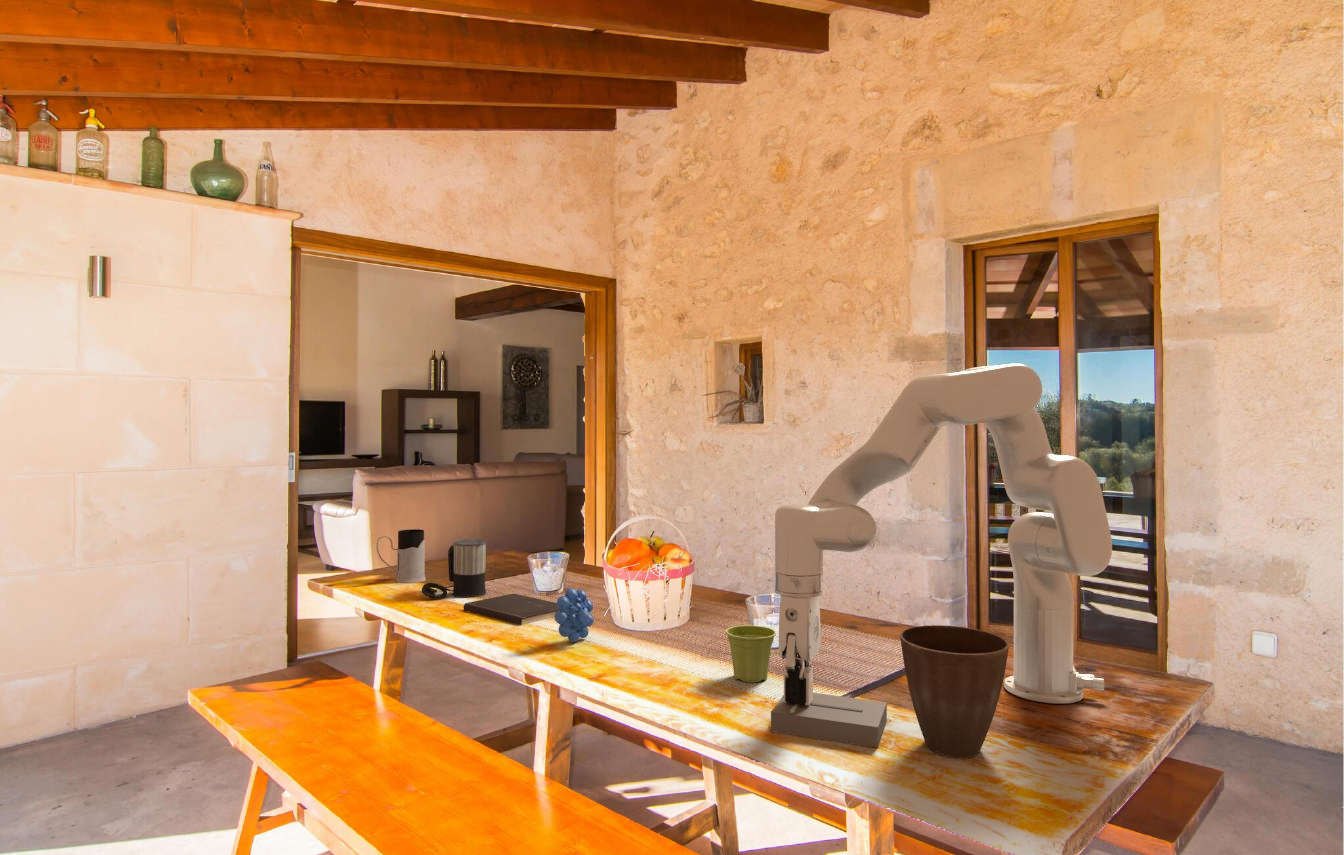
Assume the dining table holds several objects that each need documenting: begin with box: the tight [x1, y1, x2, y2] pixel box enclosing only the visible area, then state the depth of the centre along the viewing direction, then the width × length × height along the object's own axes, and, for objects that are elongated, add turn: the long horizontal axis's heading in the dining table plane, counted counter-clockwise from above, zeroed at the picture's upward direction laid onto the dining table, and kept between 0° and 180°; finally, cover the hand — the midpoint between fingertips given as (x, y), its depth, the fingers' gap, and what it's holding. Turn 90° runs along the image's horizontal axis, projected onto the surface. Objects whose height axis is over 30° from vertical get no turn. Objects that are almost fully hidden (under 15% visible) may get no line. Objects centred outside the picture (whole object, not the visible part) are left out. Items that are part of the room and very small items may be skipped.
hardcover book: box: [463, 593, 561, 626], centre depth 195 cm, size 16×23×2 cm
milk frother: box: [421, 538, 488, 600], centre depth 213 cm, size 14×16×15 cm
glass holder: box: [376, 528, 427, 584], centre depth 233 cm, size 9×14×15 cm, turn 108°
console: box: [770, 692, 888, 749], centre depth 120 cm, size 16×11×3 cm
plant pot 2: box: [899, 624, 1010, 759], centre depth 113 cm, size 15×15×16 cm
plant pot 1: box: [725, 625, 777, 683], centre depth 144 cm, size 9×9×9 cm
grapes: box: [553, 587, 595, 643], centre depth 167 cm, size 12×7×12 cm, turn 145°
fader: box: [783, 666, 814, 706], centre depth 122 cm, size 4×3×5 cm
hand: (798, 698), depth 122 cm, fingers closed on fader, 3 cm apart
